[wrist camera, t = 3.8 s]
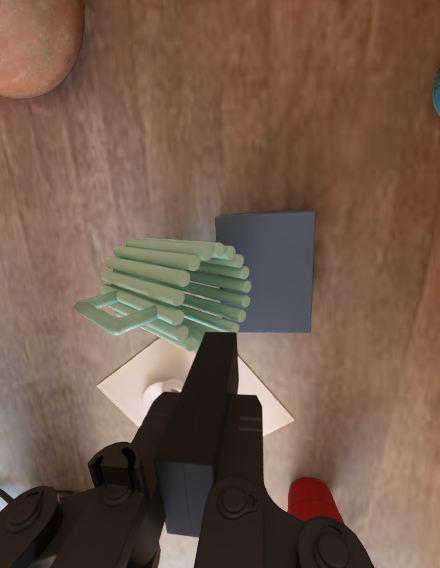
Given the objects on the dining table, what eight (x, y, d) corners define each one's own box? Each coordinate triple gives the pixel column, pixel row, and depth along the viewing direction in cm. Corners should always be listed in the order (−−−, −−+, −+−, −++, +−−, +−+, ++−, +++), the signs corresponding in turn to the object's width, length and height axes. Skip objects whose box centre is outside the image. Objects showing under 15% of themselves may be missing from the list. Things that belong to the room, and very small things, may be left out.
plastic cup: (273, 457, 38) (280, 569, 26) (353, 470, 36) (396, 593, 25) (266, 509, 41) (269, 628, 30) (339, 522, 40) (371, 652, 28)
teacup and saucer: (175, 365, 35) (165, 386, 31) (213, 406, 36) (208, 431, 32) (132, 395, 38) (117, 418, 34) (169, 433, 39) (159, 458, 35)
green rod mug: (140, 305, 33) (51, 385, 19) (128, 234, 30) (14, 266, 16) (253, 304, 31) (249, 394, 17) (251, 228, 28) (244, 257, 14)
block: (227, 316, 32) (222, 332, 28) (220, 214, 28) (214, 217, 24) (304, 316, 30) (310, 333, 27) (307, 209, 27) (315, 210, 23)
